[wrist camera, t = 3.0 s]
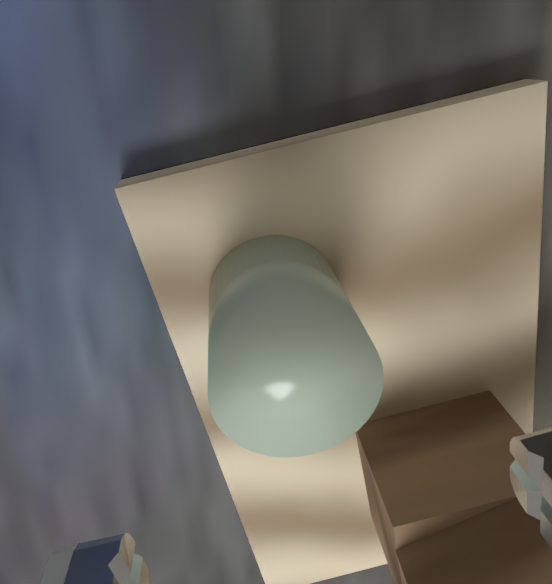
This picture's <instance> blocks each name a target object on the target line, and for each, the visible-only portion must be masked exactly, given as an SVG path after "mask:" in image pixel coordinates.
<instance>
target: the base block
mask: <svg viewBox="0 0 552 584" xmlns="http://www.w3.org/2000/svg"><path fill="white" fill-rule="evenodd" d="M355 433H356V438H357V443H358V448H359V454H360V459H361V464H362V470H363V475H364V480H365V485H366V491H367V496H368V501H369V507H370V512H371V516H372V519H373V522H374V525H375V528H376V531H377V534H378V537H379V540H380V543H381V546H382V549H383V551H384V554H385V557H386V560H387V563H388V566H389V569H390V572H391V575H392V578H393V581H394V583H395V584H407V582H406V579H405V576H404V574H403V571H402V568H401V565H400V563H399V560H398V557H397V555H396V552H395V550H398V549H400V548H402V547H404V546H407V545H409V544H411V543H413V542H416V541H418V540H420V539H423V538H425V537H427V536H429V535H432V534H434V533H436V532H439V531H441V530H443V529H445V528H448V527H450V526H452V525H455V524H457V523H459V522H461V521H464V520H466V519H468V518H470V517H473V516H475V515H477V514H480V513H482V512H484V511H486V510H489V509H491V508H493V507H496V506H498V505H500V504H502V503H505V502H507V501H509V500H512V499H514V498H516V495H515V493H514V490H513V487H512V483H511V480H510V466H511V464H512V463H513V462H514V460H515V458H514V457H513V455H512V454H511V453H510V441H511V439H512V438H513V437H516V436H520V435H524V434H525V433H524V431H523V430H522V429H521V428H520V426H519V425H518V424H517V423H516V422H515V420H514V419H513V418H512V417H511V415H510V414H509V413H508V412H507V411H506V409H505V408H504V407H503V406H502V405H501V403H500V402H499V401H498V400H497V398H496V397H495V396H494V395H493V394H492V392H491V391H490V390H489V391H485V392H481V393H477V394H473V395H469V396H465V397H461V398H457V399H453V400H449V401H445V402H441V403H437V404H433V405H430V406H426V407H422V408H418V409H414V410H410V411H406V412H402V413H398V414H394V415H390V416H386V417H382V418H378V419H374V420H370V421H367V422H366V423H365V424H364V425H363V426H362V427H361V428H360V429H359V430H358V431H357V432H355Z"/></svg>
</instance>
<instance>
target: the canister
mask: <svg viewBox="0 0 552 584" xmlns="http://www.w3.org/2000/svg"><path fill="white" fill-rule="evenodd" d="M383 382H384V373H383V366H382V362H381V359H380V356H379V354H378V351H377V350H376V348H375V346H374V344H373V342H372V340H371V339H370V337H369V335H368V333H367V331H366V330H365V328H364V326H363V324H362V322H361V321H360V319H359V317H358V315H357V313H356V311H355V310H354V308H353V306H352V304H351V302H350V301H349V299H348V297H347V295H346V293H345V292H344V290H343V288H342V286H341V284H340V282H339V281H338V279H337V277H336V275H335V273H334V272H333V270H332V268H331V266H330V264H329V263H328V261H327V260H326V258H325V257H324V256H323V255H322V253H321V252H319V251H318V250H317V249H316V248H315V247H313V246H312V245H310V244H309V243H307V242H305V241H303V240H300V239H297V238H294V237H290V236H285V235H267V236H261V237H257V238H254V239H251V240H248V241H246V242H244V243H242V244H240V245H239V246H237V247H235V248H234V249H233V250H232V251H230V252H229V253H228V254H227V255H226V256H225V257H224V258H223V259H222V260H221V262H220V263H219V265H218V266H217V268H216V270H215V271H214V273H213V276H212V279H211V282H210V287H209V312H208V392H207V395H208V404H209V408H210V411H211V414H212V416H213V419H214V421H215V422H216V424H217V425H218V427H219V428H220V430H221V431H222V432H223V433H224V434H225V435H226V436H227V437H228V438H229V439H231V440H232V441H233V442H234V443H236V444H238V445H239V446H241V447H243V448H245V449H247V450H249V451H252V452H255V453H258V454H261V455H266V456H272V457H300V456H306V455H311V454H315V453H318V452H321V451H324V450H327V449H329V448H332V447H334V446H336V445H338V444H339V443H341V442H343V441H345V440H346V439H348V438H349V437H350V436H352V435H353V434H354V433H355V432H357V431H358V430H359V429H360V428H361V427H362V426H363V425H364V424H365V423H366V422H367V420H368V419H369V418H370V416H371V415H372V414H373V412H374V410H375V408H376V407H377V404H378V402H379V400H380V397H381V393H382V389H383Z"/></svg>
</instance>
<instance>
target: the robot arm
mask: <svg viewBox="0 0 552 584" xmlns="http://www.w3.org/2000/svg"><path fill="white" fill-rule="evenodd" d="M510 453H511V454H512V455H513V457H514V458H515V460H514V462H513V463H512V464H511V466H510V480H511V483H512V487H513V490H514V493H515V495H516V497H517V499H518V501H519V502H520V504H521V505H522V507H523V508H524V510H525V511H526V513H527V514H529V515H531V516H533V517H535V518H537V519H538V520H540V533H541V535H542V536H543V538H544V539H545V540H546V542H547V543H548V545H549V546H550V547H551V549H552V427H551V428H547V429H543V430H540V431H536V432H532V433H528V434H524V435H520V436H516V437H513V438H512V439H511V441H510ZM134 549H135V542H134V540H133V539H132V537H131V535H130V534H129V533H127V534H121V535H116V536H112V537H107V538H103V539H98V540H93V541H89V542H84V543H80V544H76V545H72V546H67V547H63V548H59V549H55V550H54V551H53V552H52V554H51V555H50V556H49V558H48V561H47V564H46V567H45V570H44V572H43V575H42V578H41V581H40V584H150V578H149V573H148V569H147V565H146V563H145V561H144V559H143V557H141V556H139V555H137V554H135V553H134Z"/></svg>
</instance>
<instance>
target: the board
mask: <svg viewBox="0 0 552 584" xmlns="http://www.w3.org/2000/svg"><path fill="white" fill-rule="evenodd" d="M547 87H548V81H544V80H533V79H523V80H519V81H515V82H511V83H507V84H503V85H499V86H495V87H491V88H487V89H483V90H479V91H475V92H471V93H467V94H463V95H459V96H455V97H451V98H447V99H443V100H439V101H435V102H431V103H427V104H423V105H419V106H415V107H411V108H407V109H403V110H399V111H395V112H391V113H387V114H383V115H379V116H375V117H371V118H367V119H363V120H359V121H355V122H351V123H347V124H343V125H339V126H335V127H331V128H327V129H323V130H319V131H314V132H310V133H306V134H302V135H298V136H294V137H290V138H286V139H282V140H278V141H274V142H270V143H266V144H262V145H258V146H254V147H250V148H246V149H242V150H238V151H234V152H230V153H226V154H222V155H218V156H214V157H210V158H206V159H202V160H198V161H194V162H190V163H186V164H182V165H178V166H174V167H170V168H166V169H162V170H158V171H154V172H150V173H146V174H142V175H138V176H134V177H130V178H126V179H122V180H120V181H119V183H118V184H117V186H116V187H115V188H114V190H115V193H116V195H117V198H118V201H119V203H120V206H121V208H122V211H123V214H124V216H125V219H126V222H127V224H128V227H129V229H130V232H131V235H132V237H133V240H134V242H135V245H136V248H137V250H138V253H139V255H140V258H141V261H142V263H143V266H144V268H145V271H146V274H147V276H148V279H149V282H150V284H151V287H152V289H153V292H154V295H155V297H156V300H157V302H158V305H159V308H160V310H161V313H162V315H163V318H164V321H165V323H166V326H167V328H168V331H169V334H170V336H171V339H172V341H173V344H174V347H175V349H176V352H177V355H178V357H179V360H180V362H181V365H182V368H183V370H184V373H185V375H186V378H187V381H188V383H189V386H190V388H191V391H192V394H193V396H194V399H195V401H196V404H197V407H198V409H199V412H200V414H201V417H202V420H203V422H204V425H205V428H206V430H207V433H208V435H209V438H210V441H211V443H212V446H213V448H214V451H215V454H216V456H217V459H218V461H219V464H220V467H221V469H222V472H223V474H224V477H225V480H226V482H227V485H228V487H229V490H230V493H231V495H232V498H233V501H234V503H235V506H236V508H237V511H238V514H239V516H240V519H241V521H242V524H243V527H244V529H245V532H246V534H247V537H248V540H249V542H250V545H251V547H252V550H253V553H254V555H255V558H256V560H257V563H258V566H259V568H260V571H261V574H262V576H263V579H264V581H265V584H310V583H314V582H318V581H321V580H325V579H329V578H333V577H337V576H341V575H345V574H349V573H353V572H357V571H360V570H364V569H368V568H372V567H376V566H380V565H384V564H388V563H387V560H386V557H385V554H384V551H383V549H382V546H381V543H380V540H379V537H378V534H377V531H376V528H375V525H374V522H373V519H372V516H371V512H370V507H369V501H368V496H367V491H366V485H365V480H364V475H363V470H362V464H361V459H360V454H359V448H358V443H357V438H356V433H354V434H353V435H352V436H350V437H349V438H348V439H346V440H345V441H343V442H341V443H339V444H338V445H336V446H334V447H332V448H329V449H327V450H324V451H321V452H318V453H315V454H311V455H306V456H300V457H272V456H266V455H261V454H258V453H255V452H252V451H249V450H247V449H245V448H243V447H241V446H239V445H238V444H236V443H234V442H233V441H232V440H231V439H229V438H228V437H227V436H226V435H225V434H224V433H223V432H222V431H221V430H220V428H219V427H218V425H217V424H216V422H215V421H214V419H213V416H212V414H211V411H210V408H209V404H208V395H207V392H208V312H209V287H210V282H211V279H212V276H213V273H214V271H215V270H216V268H217V266H218V265H219V263H220V262H221V260H222V259H223V258H224V257H225V256H226V255H227V254H228V253H229V252H230V251H232V250H233V249H234V248H235V247H237V246H239V245H240V244H242V243H244V242H246V241H248V240H251V239H254V238H257V237H261V236H267V235H285V236H290V237H294V238H297V239H300V240H303V241H305V242H307V243H309V244H310V245H312V246H313V247H315V248H316V249H317V250H318V251H319V252H321V253H322V255H323V256H324V257H325V258H326V260H327V261H328V263H329V264H330V266H331V268H332V270H333V272H334V273H335V275H336V277H337V279H338V281H339V282H340V284H341V286H342V288H343V290H344V292H345V293H346V295H347V297H348V299H349V301H350V302H351V304H352V306H353V308H354V310H355V311H356V313H357V315H358V317H359V319H360V321H361V322H362V324H363V326H364V328H365V330H366V331H367V333H368V335H369V337H370V339H371V340H372V342H373V344H374V346H375V348H376V350H377V351H378V354H379V356H380V359H381V362H382V366H383V373H384V382H383V389H382V393H381V397H380V400H379V402H378V404H377V407H376V408H375V410H374V412H373V414H372V415H371V416H370V418H369V419H368V420H367V421H370V420H374V419H378V418H382V417H386V416H390V415H394V414H398V413H402V412H406V411H410V410H414V409H418V408H422V407H426V406H430V405H433V404H437V403H441V402H445V401H449V400H453V399H457V398H461V397H465V396H469V395H473V394H477V393H481V392H485V391H489V390H490V391H491V392H492V394H493V395H494V396H495V397H496V398H497V400H498V401H499V402H500V403H501V405H502V406H503V407H504V408H505V409H506V411H507V412H508V413H509V414H510V415H511V417H512V418H513V419H514V420H515V422H516V423H517V424H518V425H519V426H520V428H521V429H522V430H523V431H524V433H525V434H528V433H532V432H533V411H534V388H535V365H536V342H537V318H538V295H539V272H540V249H541V226H542V203H543V180H544V156H545V133H546V110H547Z"/></svg>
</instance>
